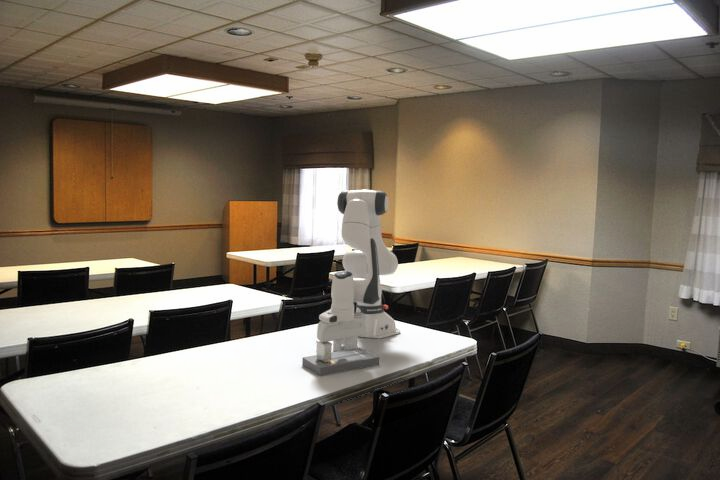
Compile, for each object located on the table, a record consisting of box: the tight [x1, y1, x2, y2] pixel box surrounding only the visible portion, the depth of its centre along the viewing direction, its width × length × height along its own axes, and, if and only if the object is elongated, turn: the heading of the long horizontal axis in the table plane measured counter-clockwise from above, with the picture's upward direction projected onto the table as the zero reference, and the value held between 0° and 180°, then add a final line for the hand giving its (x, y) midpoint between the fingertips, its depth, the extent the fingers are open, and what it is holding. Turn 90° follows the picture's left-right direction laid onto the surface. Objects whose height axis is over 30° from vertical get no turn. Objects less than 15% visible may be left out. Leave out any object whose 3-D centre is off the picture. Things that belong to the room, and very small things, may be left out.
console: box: [301, 347, 381, 377], centre depth 207 cm, size 26×14×3 cm, turn 123°
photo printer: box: [332, 337, 359, 352], centre depth 225 cm, size 10×4×12 cm, turn 98°
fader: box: [316, 339, 333, 362], centre depth 202 cm, size 3×6×7 cm, turn 33°
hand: (342, 349), depth 207 cm, fingers closed
